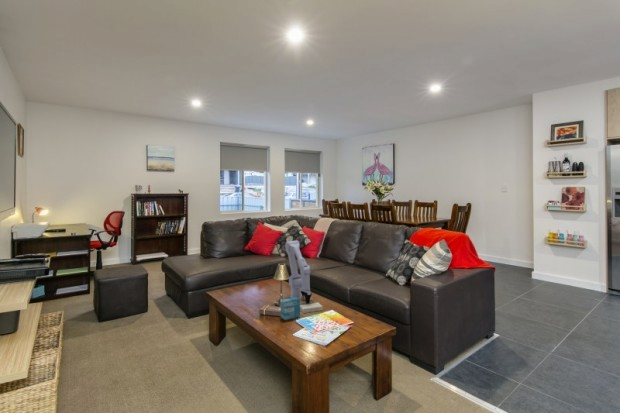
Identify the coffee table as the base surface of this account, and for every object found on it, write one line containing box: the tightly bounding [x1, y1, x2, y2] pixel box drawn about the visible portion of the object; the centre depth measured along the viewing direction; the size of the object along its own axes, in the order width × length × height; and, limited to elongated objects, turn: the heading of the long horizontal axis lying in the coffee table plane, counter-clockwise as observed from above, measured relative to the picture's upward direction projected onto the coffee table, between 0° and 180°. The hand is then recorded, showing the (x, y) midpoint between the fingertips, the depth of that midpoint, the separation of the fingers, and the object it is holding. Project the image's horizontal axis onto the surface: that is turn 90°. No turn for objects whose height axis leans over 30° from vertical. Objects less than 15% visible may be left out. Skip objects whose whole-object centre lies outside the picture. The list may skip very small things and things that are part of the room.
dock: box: [300, 302, 324, 314], centre depth 217 cm, size 9×14×3 cm, turn 109°
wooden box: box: [299, 296, 315, 305], centre depth 227 cm, size 6×10×4 cm, turn 109°
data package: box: [280, 297, 301, 321], centre depth 204 cm, size 12×4×12 cm, turn 117°
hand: (306, 301), depth 227 cm, fingers closed on wooden box, 6 cm apart
